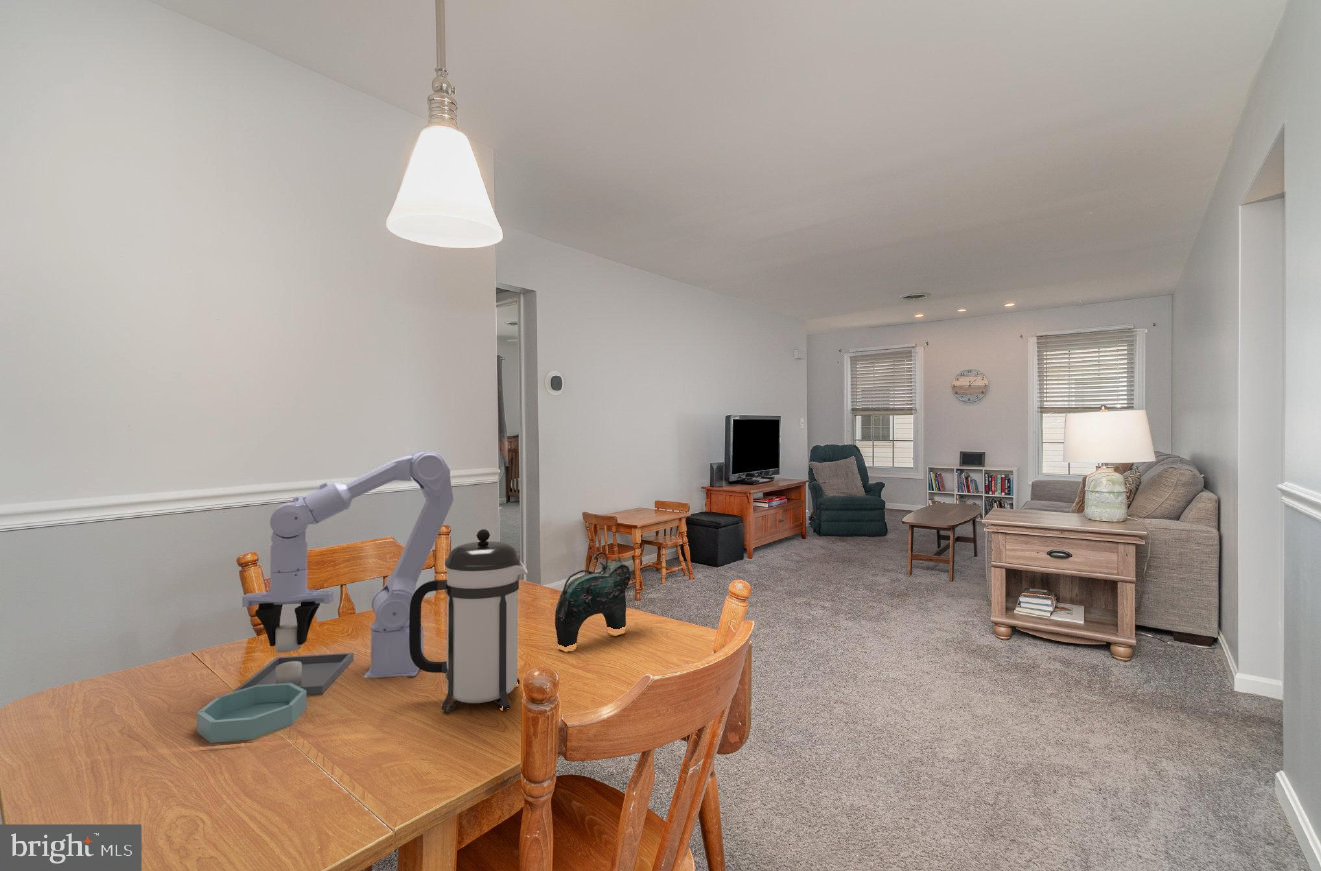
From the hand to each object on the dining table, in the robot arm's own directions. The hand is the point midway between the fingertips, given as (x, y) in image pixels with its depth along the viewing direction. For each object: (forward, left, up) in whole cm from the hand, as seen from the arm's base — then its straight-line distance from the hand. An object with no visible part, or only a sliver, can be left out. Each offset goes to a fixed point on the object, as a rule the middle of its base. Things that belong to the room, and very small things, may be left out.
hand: (288, 643), depth 107 cm
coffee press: (-34, +10, -9) cm, 37 cm away
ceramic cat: (-57, -16, -9) cm, 60 cm away
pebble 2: (0, 0, -8) cm, 8 cm away
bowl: (0, +12, -8) cm, 15 cm away
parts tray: (0, -4, -8) cm, 9 cm away
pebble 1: (0, 0, -1) cm, 1 cm away
